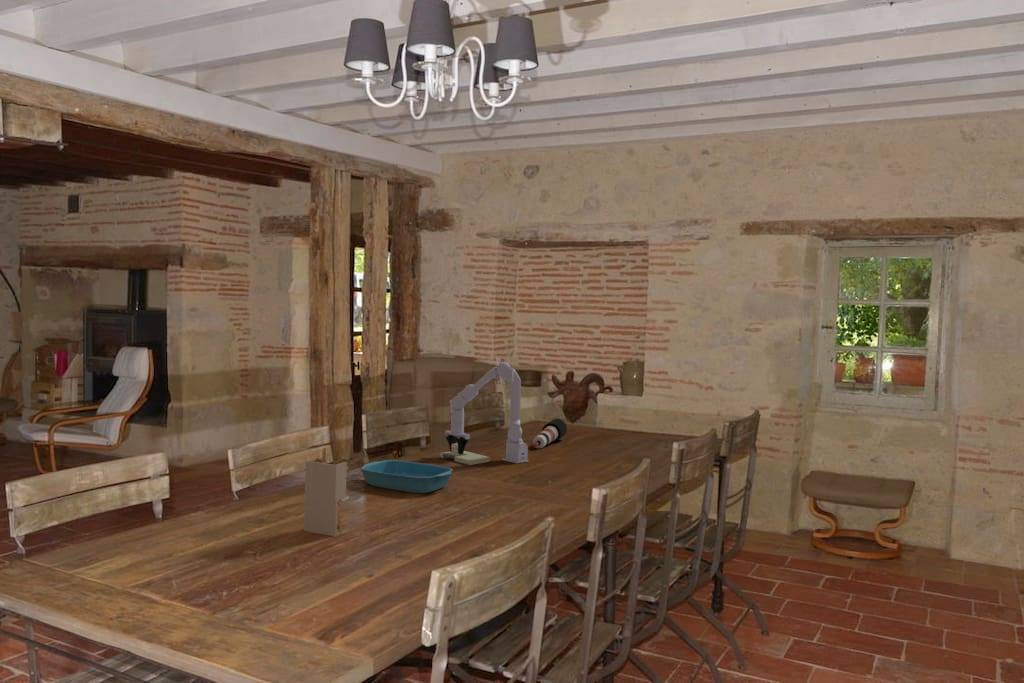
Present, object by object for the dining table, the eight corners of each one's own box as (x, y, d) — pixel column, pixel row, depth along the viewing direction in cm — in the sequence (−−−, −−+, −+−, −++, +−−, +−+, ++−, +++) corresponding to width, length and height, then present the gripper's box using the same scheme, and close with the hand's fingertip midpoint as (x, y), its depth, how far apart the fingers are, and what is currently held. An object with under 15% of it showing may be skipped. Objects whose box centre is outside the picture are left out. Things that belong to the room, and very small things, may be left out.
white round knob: (464, 455, 361) (464, 444, 361) (455, 456, 358) (456, 445, 357) (457, 453, 365) (457, 442, 364) (448, 455, 361) (449, 444, 361)
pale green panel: (490, 461, 356) (490, 457, 356) (469, 465, 348) (469, 460, 348) (460, 454, 371) (460, 450, 370) (439, 457, 362) (440, 453, 362)
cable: (530, 458, 389) (521, 439, 389) (553, 440, 420) (545, 422, 420) (548, 451, 385) (539, 432, 385) (570, 433, 416) (561, 415, 416)
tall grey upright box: (335, 537, 241) (337, 452, 239) (304, 532, 245) (305, 448, 244) (350, 531, 248) (352, 448, 246) (319, 525, 252) (321, 444, 251)
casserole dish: (349, 484, 306) (349, 466, 306) (384, 474, 326) (385, 456, 326) (430, 499, 289) (431, 479, 289) (463, 486, 309) (463, 468, 309)
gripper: (440, 421, 363) (439, 451, 363) (461, 425, 352) (460, 456, 353) (452, 420, 368) (451, 449, 368) (473, 424, 357) (472, 454, 358)
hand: (456, 453), depth 361 cm, fingers closed on white round knob, 5 cm apart
